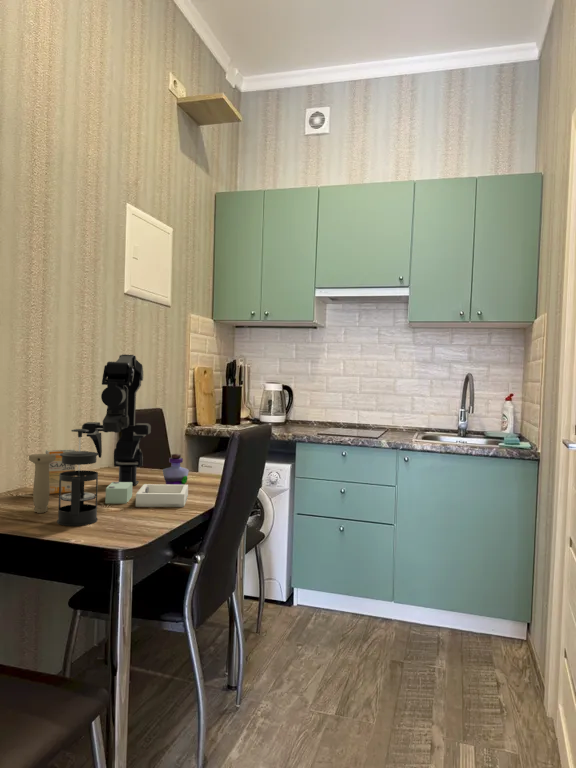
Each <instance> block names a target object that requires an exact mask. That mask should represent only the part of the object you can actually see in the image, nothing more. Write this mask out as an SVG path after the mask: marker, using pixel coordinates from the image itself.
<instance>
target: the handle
mask: <svg viewBox="0 0 576 768" xmlns="http://www.w3.org/2000/svg"><path fill="white" fill-rule="evenodd" d="M55 458H56V455H53V454H46V453H38V454H37V453H35V454H30V455H29V454H28V461H29V462H31V463H33V464H34V476H33V477H34V478H33V488H32V489H33V491H32V497H33V500H32V501H33V512H34V513H35V512H37V514H42V513H44V512H45V513H47V512H48V510H49V506H48V505H49V502H50V495H51V494H50V490H49V489H50V485H49V464H50V463H51V462H53V461H54V460H55ZM46 511H47V512H46Z"/></svg>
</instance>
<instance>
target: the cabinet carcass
mask: <svg viewBox="0 0 576 768" xmlns="http://www.w3.org/2000/svg"><path fill="white" fill-rule="evenodd" d="M187 497H189V484H185V485H170V484H166V483H165V484H160V483H159V484H155V483H154V484H153V483H152V484H151V483H148V484H147V483H144V484H143V485H142V486H141V487H140V489H138V490H137V492H136V493H135V507H138V508H140V507H141V508H160V507H161V508H162V507H163V508H174V507H175V508H184V507H185V505H186V503H187V500H188V498H187Z"/></svg>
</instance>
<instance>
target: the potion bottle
mask: <svg viewBox="0 0 576 768" xmlns="http://www.w3.org/2000/svg"><path fill="white" fill-rule="evenodd" d="M181 455H182V454H181V453H173V454H171V457H168V458H169V459H168V462H169V463H171V465H170V466H169V467H166V468H163V469H162V473H163V479H164V481H165V484H170V485H186V484H187V482H188V475H189V471H190V470H189V469H188V468H187V467H181V464H182V463H183V461H184V459H183V457H181Z"/></svg>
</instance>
